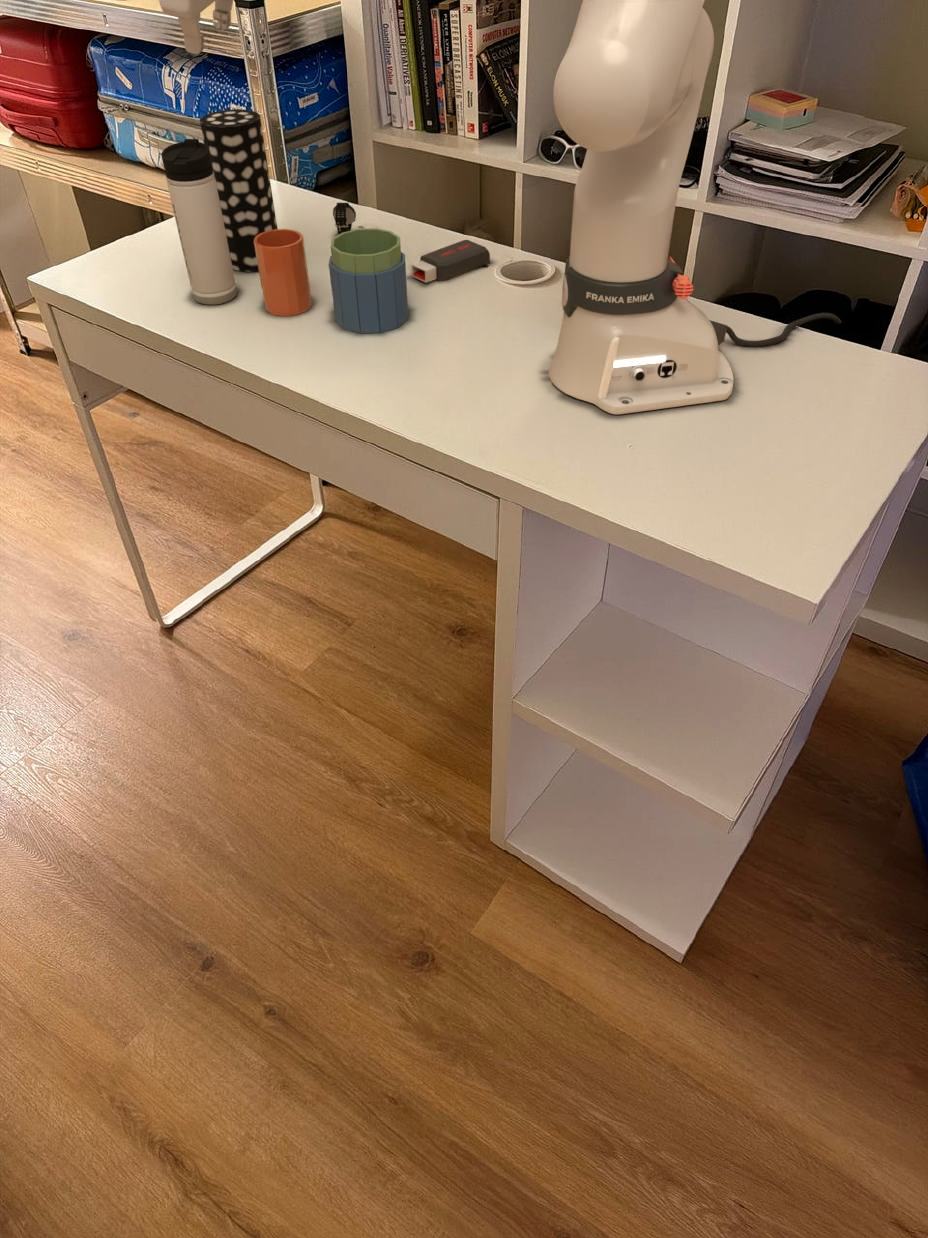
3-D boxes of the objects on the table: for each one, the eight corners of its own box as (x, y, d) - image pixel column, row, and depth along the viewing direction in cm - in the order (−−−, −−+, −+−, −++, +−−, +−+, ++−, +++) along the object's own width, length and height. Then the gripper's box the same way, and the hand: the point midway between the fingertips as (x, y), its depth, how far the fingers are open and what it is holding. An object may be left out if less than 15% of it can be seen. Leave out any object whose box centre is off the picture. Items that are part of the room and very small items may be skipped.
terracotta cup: (313, 295, 131) (304, 228, 124) (309, 315, 126) (300, 246, 120) (268, 296, 131) (257, 229, 124) (262, 316, 126) (250, 248, 120)
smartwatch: (361, 231, 148) (359, 200, 144) (346, 243, 144) (343, 211, 141) (339, 228, 149) (336, 196, 145) (323, 239, 146) (320, 207, 142)
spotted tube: (216, 263, 139) (186, 120, 125) (254, 245, 144) (230, 105, 130) (255, 276, 136) (229, 130, 122) (293, 257, 141) (272, 114, 127)
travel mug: (243, 286, 133) (215, 138, 120) (230, 306, 129) (200, 154, 115) (201, 284, 134) (169, 137, 120) (187, 304, 129) (152, 153, 115)
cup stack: (408, 299, 129) (404, 225, 122) (407, 332, 122) (402, 255, 115) (338, 301, 129) (330, 227, 122) (333, 333, 122) (324, 257, 115)
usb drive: (490, 262, 138) (490, 244, 136) (430, 286, 132) (429, 267, 131) (467, 252, 141) (466, 234, 139) (407, 275, 135) (406, 257, 133)
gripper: (197, -77, 91) (204, 73, 102) (260, -115, 105) (260, 20, 115) (136, -92, 91) (149, 60, 102) (207, -128, 105) (212, 9, 115)
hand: (208, 39), depth 109 cm, fingers open, 8 cm apart
